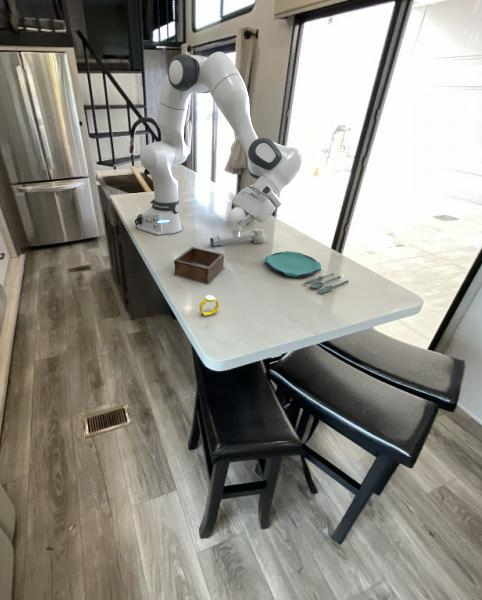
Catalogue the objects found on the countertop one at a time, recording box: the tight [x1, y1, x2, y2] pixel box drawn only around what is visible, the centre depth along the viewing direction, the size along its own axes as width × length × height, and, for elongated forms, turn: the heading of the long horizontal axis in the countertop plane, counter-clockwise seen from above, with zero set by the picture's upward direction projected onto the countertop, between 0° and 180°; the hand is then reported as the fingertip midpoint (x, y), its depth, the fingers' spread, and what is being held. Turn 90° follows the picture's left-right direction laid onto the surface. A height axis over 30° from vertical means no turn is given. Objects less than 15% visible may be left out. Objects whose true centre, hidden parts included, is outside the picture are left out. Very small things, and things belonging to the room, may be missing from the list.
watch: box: [198, 294, 220, 316], centre depth 95 cm, size 6×3×6 cm, turn 114°
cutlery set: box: [264, 250, 350, 294], centre depth 119 cm, size 20×30×2 cm, turn 28°
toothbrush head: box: [209, 227, 267, 248], centre depth 141 cm, size 5×7×25 cm
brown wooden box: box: [173, 246, 225, 285], centre depth 118 cm, size 14×14×6 cm
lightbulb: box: [228, 207, 247, 238], centre depth 113 cm, size 6×6×11 cm
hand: (235, 222), depth 112 cm, fingers closed on lightbulb, 6 cm apart
